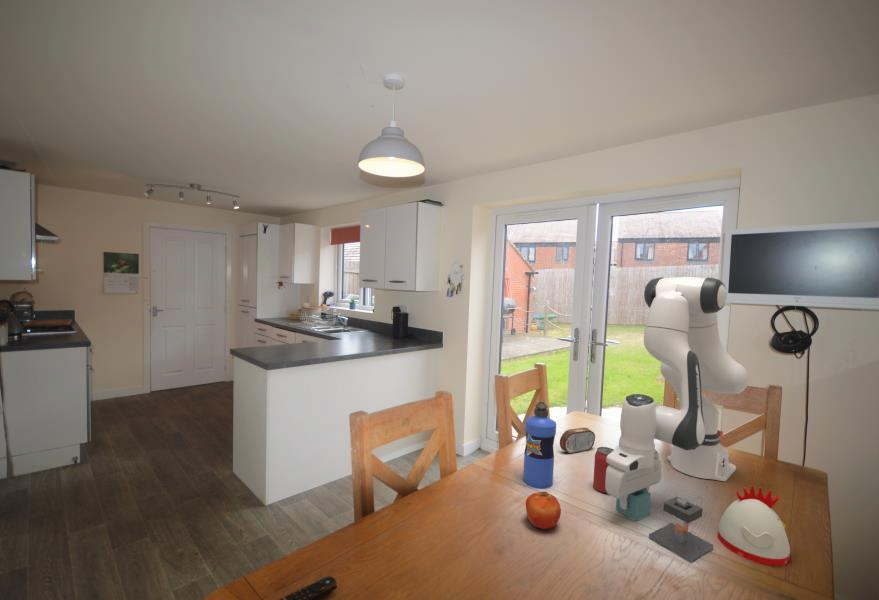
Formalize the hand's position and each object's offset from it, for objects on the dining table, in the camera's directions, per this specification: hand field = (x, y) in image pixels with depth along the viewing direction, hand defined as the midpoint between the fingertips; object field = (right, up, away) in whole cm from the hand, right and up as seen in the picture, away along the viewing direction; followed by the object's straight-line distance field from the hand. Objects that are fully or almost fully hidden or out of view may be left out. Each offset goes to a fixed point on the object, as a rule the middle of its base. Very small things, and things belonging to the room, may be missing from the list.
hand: (633, 504), depth 113 cm
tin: (-2, 0, +40) cm, 40 cm away
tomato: (-26, -2, -6) cm, 27 cm away
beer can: (-3, -2, +12) cm, 13 cm away
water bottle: (-22, -1, +16) cm, 27 cm away
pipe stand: (+5, -3, -13) cm, 14 cm away
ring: (+6, +4, -13) cm, 15 cm away
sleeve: (0, -2, 0) cm, 2 cm away
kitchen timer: (+23, -4, -13) cm, 27 cm away
